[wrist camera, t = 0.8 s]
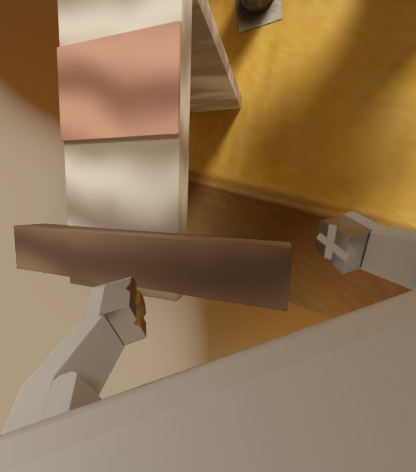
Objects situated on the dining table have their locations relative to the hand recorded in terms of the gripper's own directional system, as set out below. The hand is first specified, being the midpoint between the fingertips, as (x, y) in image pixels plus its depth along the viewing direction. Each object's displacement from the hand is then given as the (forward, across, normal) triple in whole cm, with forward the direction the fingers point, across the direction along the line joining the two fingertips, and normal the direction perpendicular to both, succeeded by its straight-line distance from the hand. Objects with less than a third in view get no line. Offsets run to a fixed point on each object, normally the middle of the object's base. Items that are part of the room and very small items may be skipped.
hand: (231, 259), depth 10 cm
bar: (+10, +5, +5) cm, 13 cm away
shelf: (+36, -6, +9) cm, 37 cm away
